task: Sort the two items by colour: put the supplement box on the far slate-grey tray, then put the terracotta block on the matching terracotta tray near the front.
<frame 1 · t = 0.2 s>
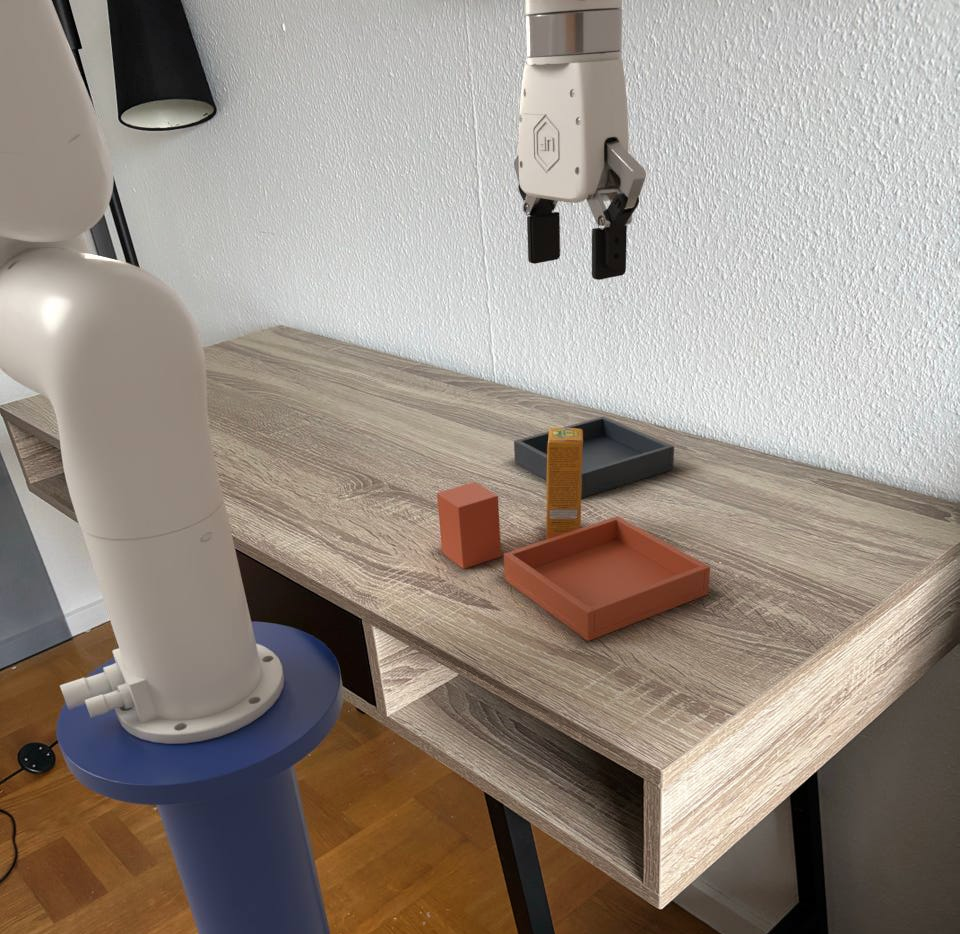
hand: (575, 268, 84), 22 cm above the table, tool pointing down, fingers open, 9 cm apart
supplement box: (565, 537, 89), on the table
terracotta block: (471, 554, 86), on the table
slate tray: (592, 466, 102), on the table
terracotta tray: (603, 587, 80), on the table
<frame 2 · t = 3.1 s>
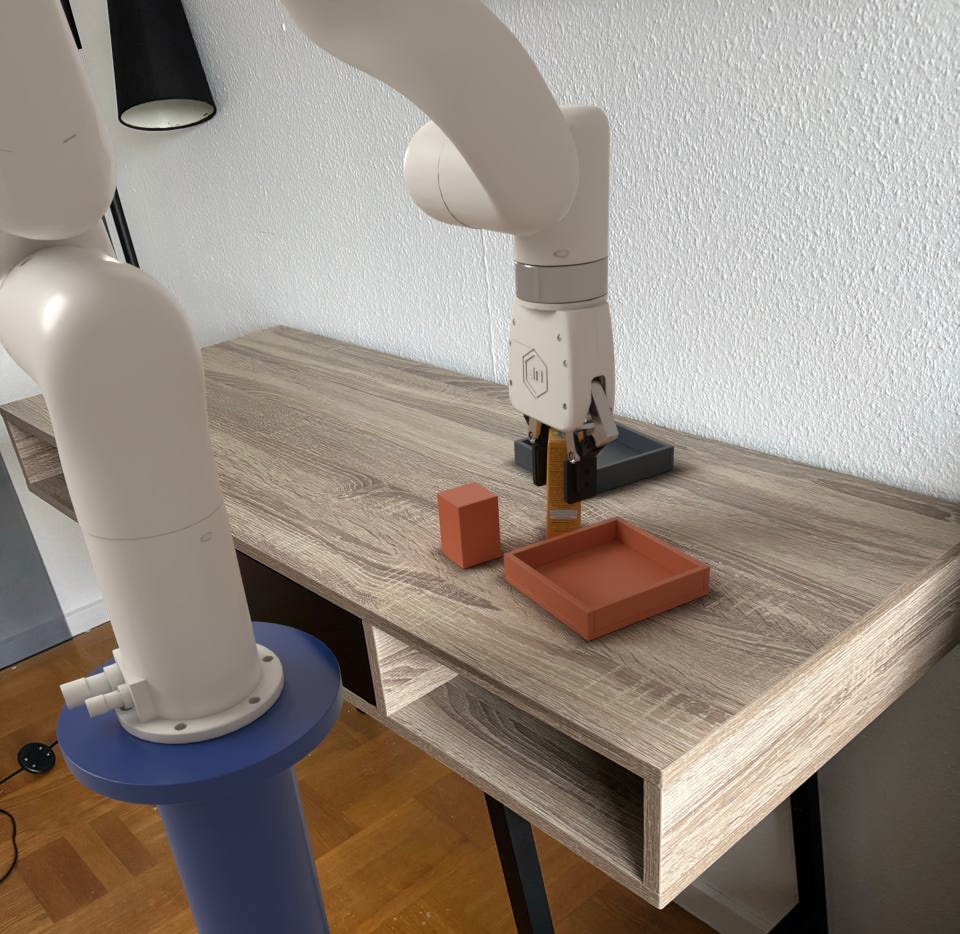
hand: (564, 488, 86), 5 cm above the table, tool pointing down, fingers closed on supplement box, 4 cm apart
supplement box: (564, 537, 89), on the table, touching gripper
everything else where it was.
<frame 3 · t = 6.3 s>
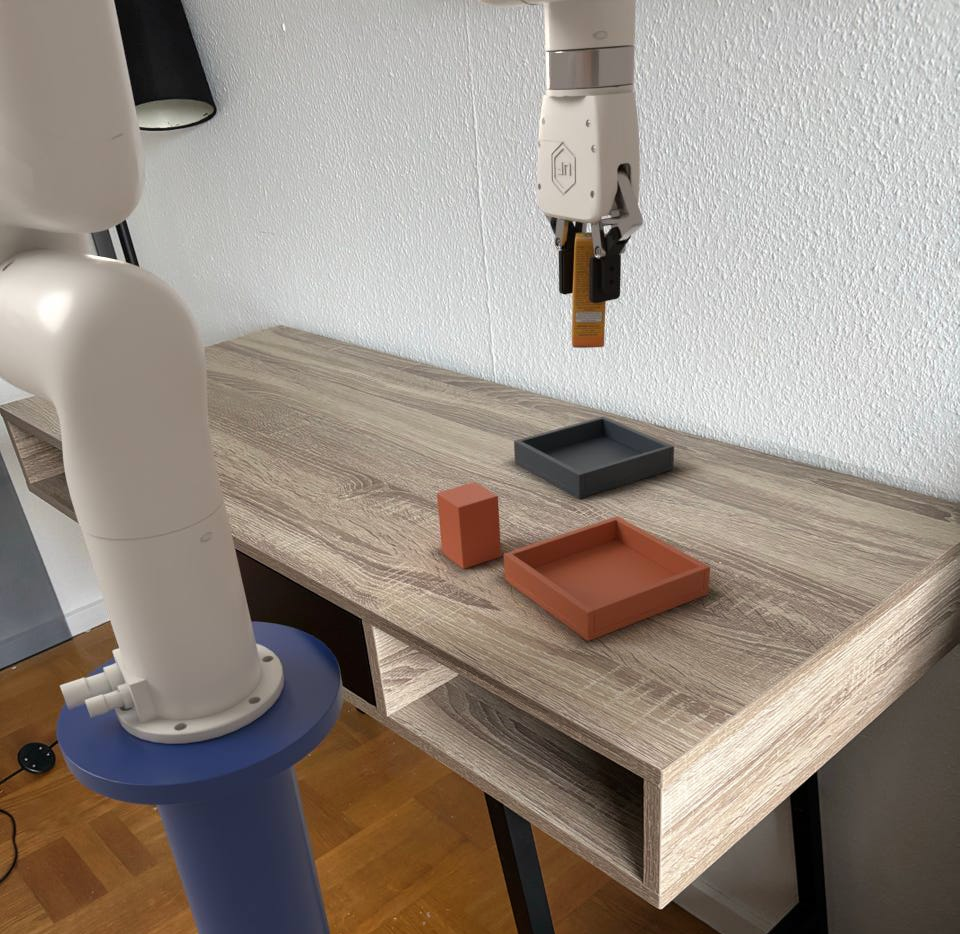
hand: (589, 294, 90), 19 cm above the table, tool pointing down, fingers closed on supplement box, 4 cm apart
supplement box: (589, 345, 93), point 14 cm above the table, touching gripper
everything else where it was.
when the fingers open (5 cm above the table, at t = 9.6 s): supplement box stays where it is, resting on slate tray.
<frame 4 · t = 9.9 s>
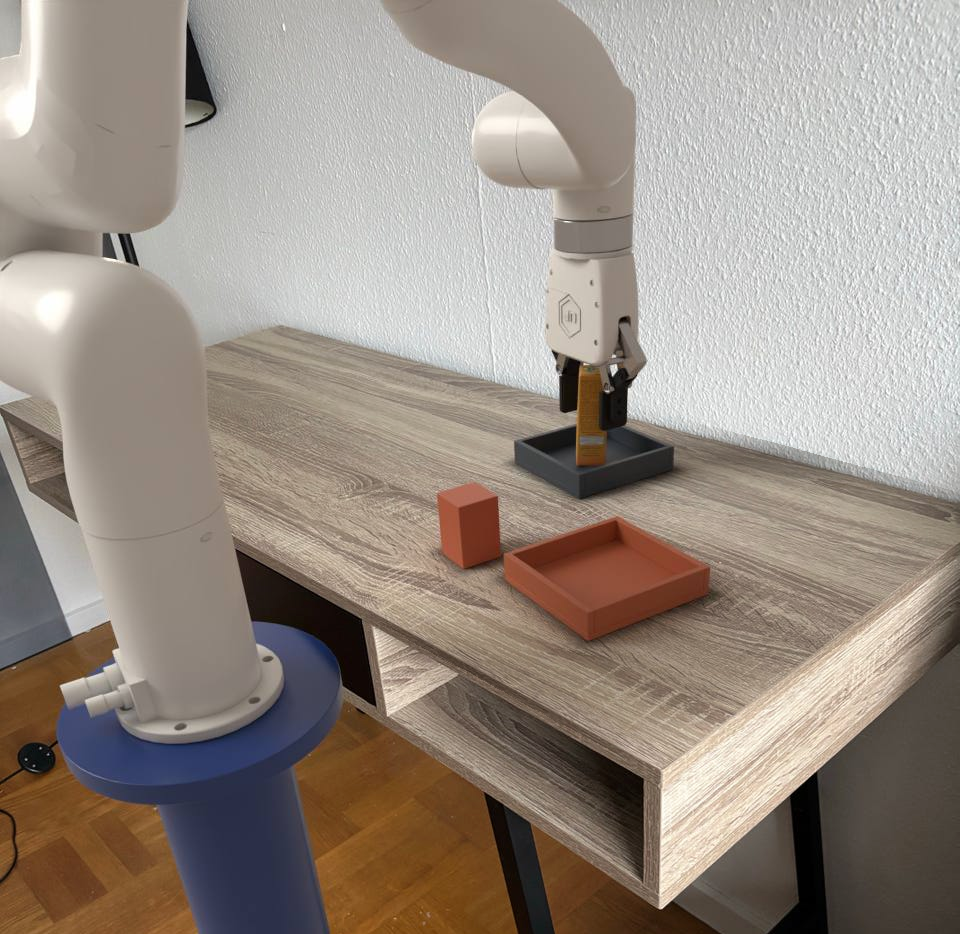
hand: (592, 417, 99), 6 cm above the table, tool pointing down, fingers open, 6 cm apart
supplement box: (592, 463, 102), resting on slate tray
everything else where it was.
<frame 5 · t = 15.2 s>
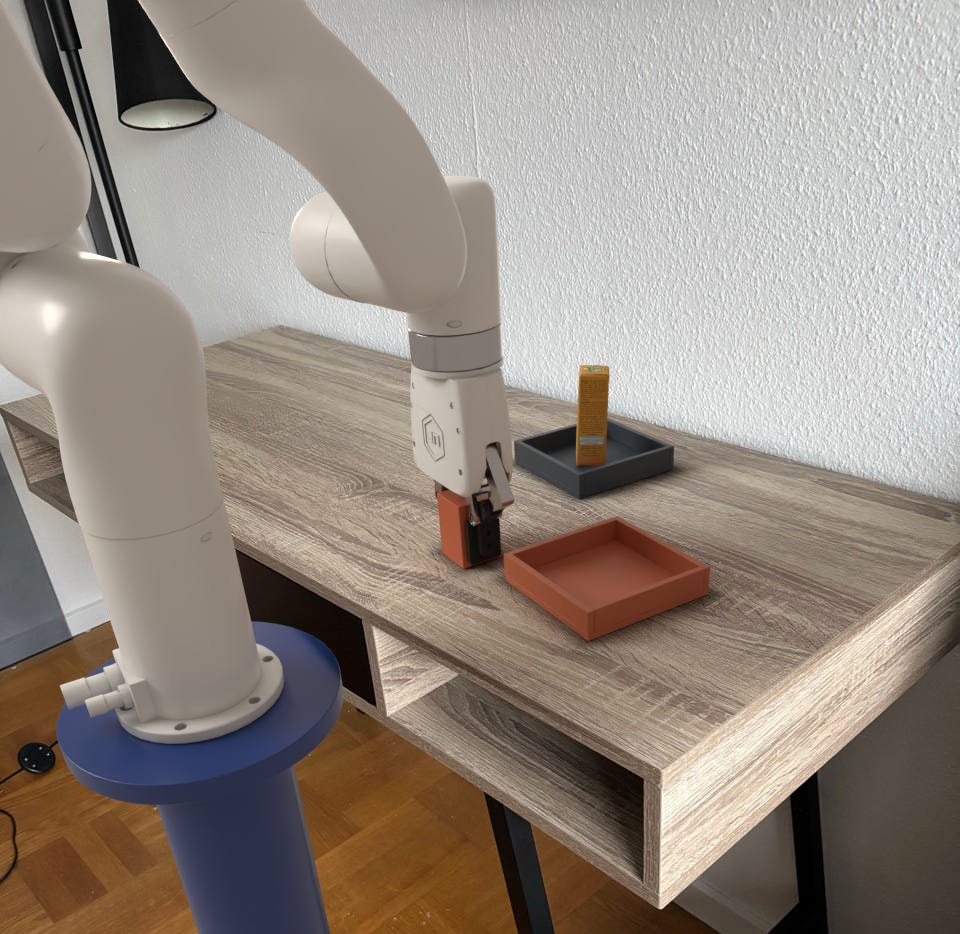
hand: (471, 547, 86), 1 cm above the table, tool pointing down, fingers closed on terracotta block, 4 cm apart
terracotta block: (471, 554, 86), on the table, touching gripper
everything else where it was.
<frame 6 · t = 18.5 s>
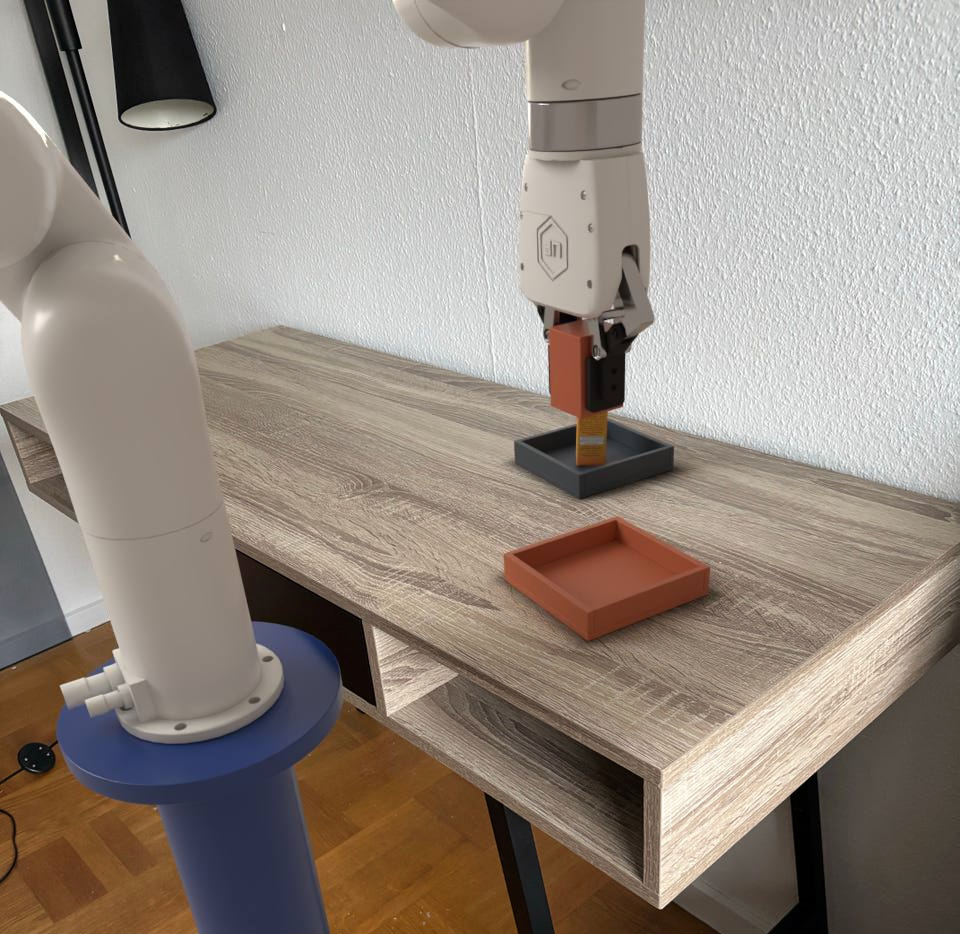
hand: (586, 397, 72), 16 cm above the table, tool pointing down, fingers closed on terracotta block, 4 cm apart
terracotta block: (586, 406, 73), point 15 cm above the table, touching gripper
everything else where it was.
when the fingers open (1 cm above the table, at t = 22.1 s): terracotta block stays where it is, resting on terracotta tray.
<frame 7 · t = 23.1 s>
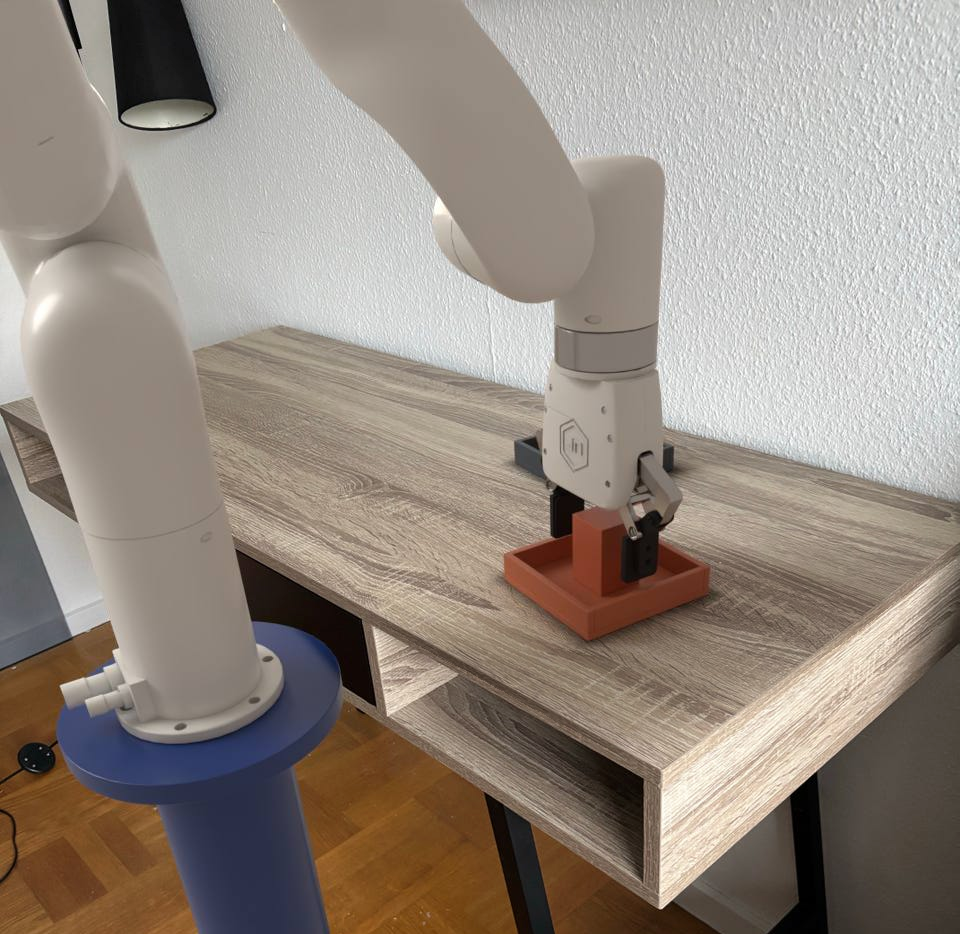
hand: (601, 554, 78), 3 cm above the table, tool pointing down, fingers open, 9 cm apart
terracotta block: (605, 580, 80), point 1 cm above the table, touching terracotta tray
everything else where it was.
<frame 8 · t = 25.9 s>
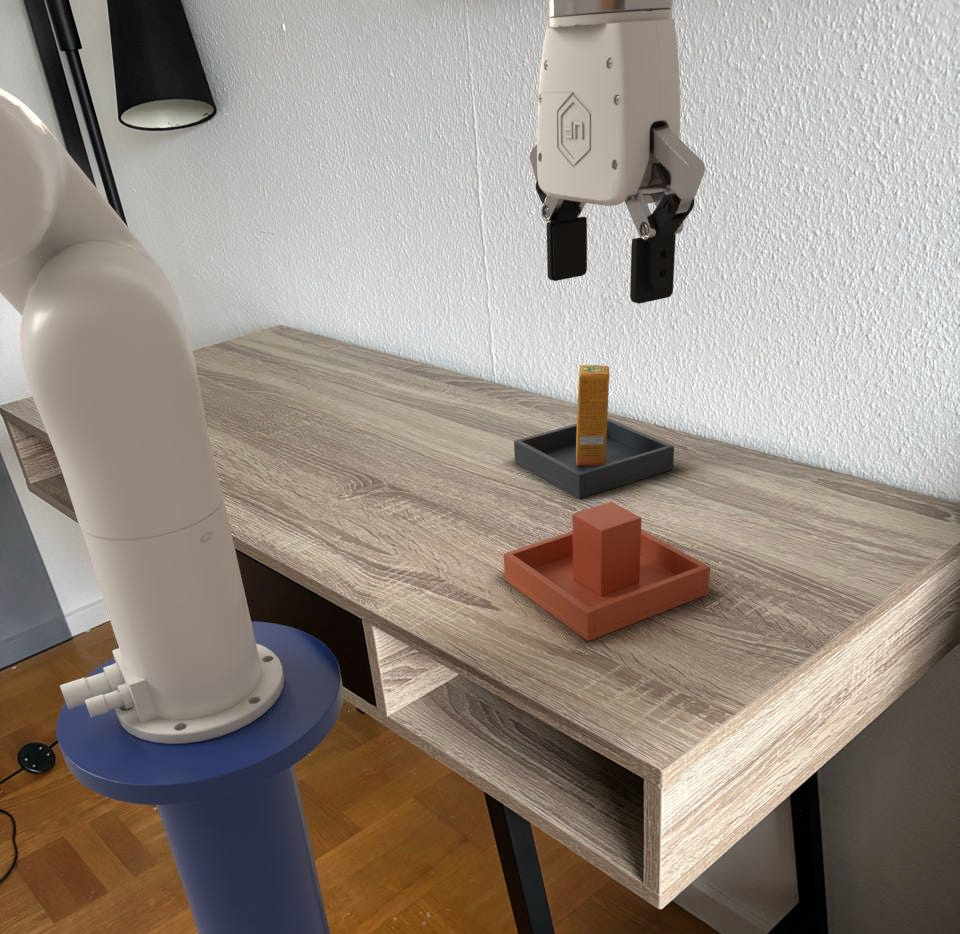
hand: (607, 288, 67), 24 cm above the table, tool pointing down, fingers open, 9 cm apart
nothing on the table moved.
at the end: supplement box inside the target area in the slate tray (0.1 cm from its centre), point 0.4 cm above the slate tray's base; supplement box tilted 0°; terracotta block inside the target area in the terracotta tray (0.2 cm from its centre), point 0.6 cm above the terracotta tray's base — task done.
